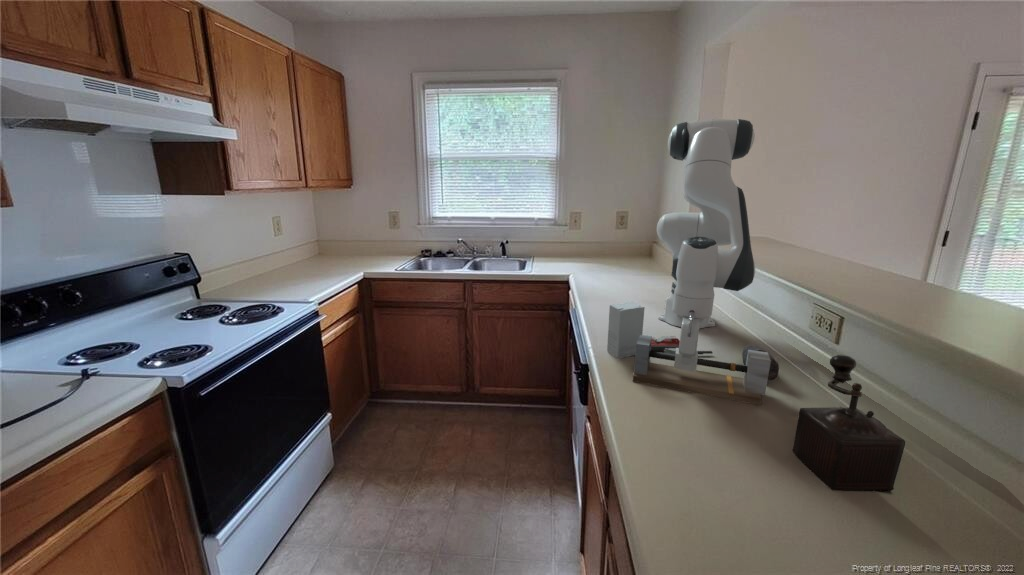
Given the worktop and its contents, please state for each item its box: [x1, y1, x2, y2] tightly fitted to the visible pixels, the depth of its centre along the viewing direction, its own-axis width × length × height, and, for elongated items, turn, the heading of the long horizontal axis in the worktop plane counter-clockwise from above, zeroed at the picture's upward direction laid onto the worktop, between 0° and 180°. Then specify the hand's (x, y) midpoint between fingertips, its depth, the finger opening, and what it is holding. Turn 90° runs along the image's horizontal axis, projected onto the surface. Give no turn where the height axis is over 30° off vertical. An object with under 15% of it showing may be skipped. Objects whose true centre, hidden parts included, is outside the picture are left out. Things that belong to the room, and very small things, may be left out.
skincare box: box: [606, 301, 646, 359], centre depth 119 cm, size 8×6×15 cm
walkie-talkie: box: [651, 335, 713, 355], centre depth 122 cm, size 9×4×20 cm
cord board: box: [632, 334, 771, 406], centre depth 101 cm, size 10×29×10 cm, turn 66°
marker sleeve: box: [673, 348, 699, 372], centre depth 102 cm, size 4×5×4 cm
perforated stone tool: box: [741, 344, 780, 382], centre depth 109 cm, size 15×5×7 cm, turn 170°
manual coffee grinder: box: [792, 354, 906, 492], centre depth 72 cm, size 16×11×18 cm
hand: (686, 359), depth 102 cm, fingers closed on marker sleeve, 4 cm apart
